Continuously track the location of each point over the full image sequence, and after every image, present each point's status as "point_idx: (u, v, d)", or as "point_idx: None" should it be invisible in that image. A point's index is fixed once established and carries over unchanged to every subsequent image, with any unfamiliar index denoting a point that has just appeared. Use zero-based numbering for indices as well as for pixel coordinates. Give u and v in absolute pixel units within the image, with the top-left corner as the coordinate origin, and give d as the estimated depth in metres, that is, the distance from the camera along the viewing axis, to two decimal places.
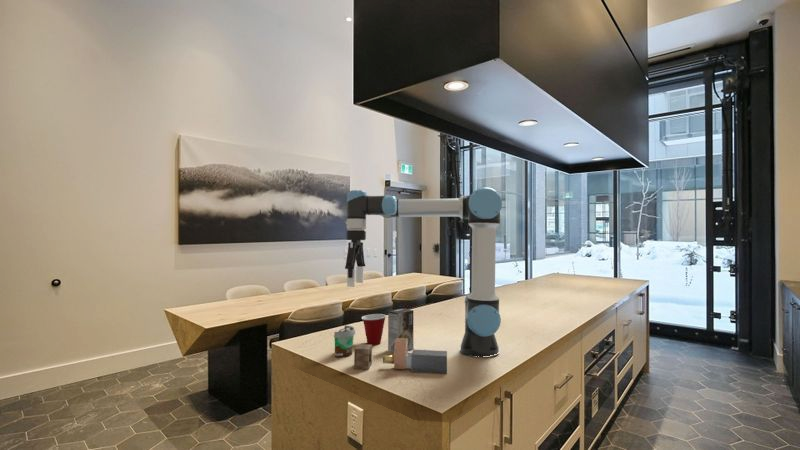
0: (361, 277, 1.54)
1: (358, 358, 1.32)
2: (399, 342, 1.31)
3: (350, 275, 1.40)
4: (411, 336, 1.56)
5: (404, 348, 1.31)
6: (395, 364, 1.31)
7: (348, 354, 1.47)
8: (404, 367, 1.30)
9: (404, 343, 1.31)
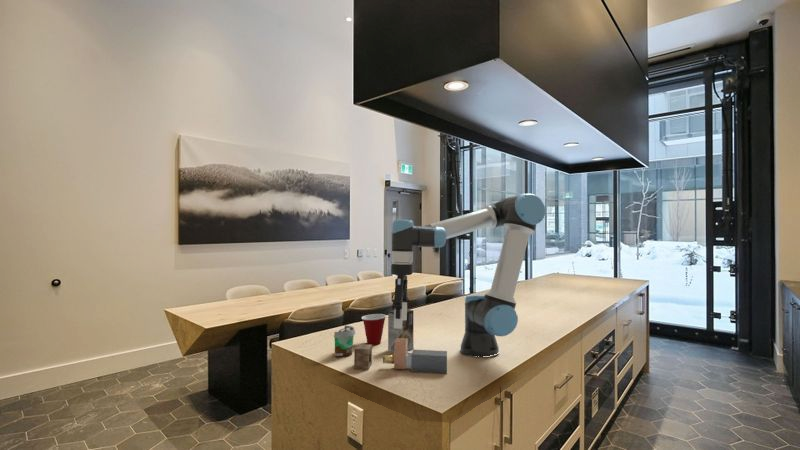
0: (405, 314, 1.40)
1: (358, 358, 1.32)
2: (399, 342, 1.31)
3: (398, 316, 1.26)
4: (411, 336, 1.56)
5: (404, 348, 1.31)
6: (395, 364, 1.31)
7: (348, 354, 1.47)
8: (404, 367, 1.30)
9: (404, 343, 1.31)
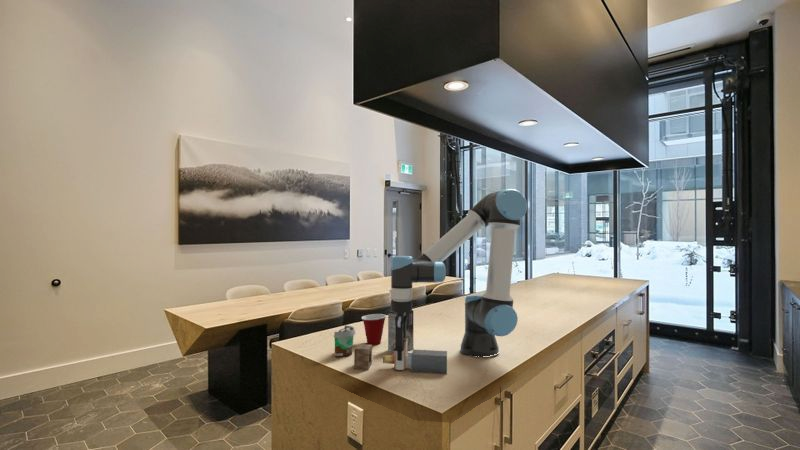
0: None
1: (358, 358, 1.32)
2: None
3: (399, 358, 1.29)
4: (411, 336, 1.56)
5: (404, 348, 1.31)
6: (395, 364, 1.31)
7: (348, 354, 1.47)
8: (404, 367, 1.30)
9: (404, 343, 1.31)
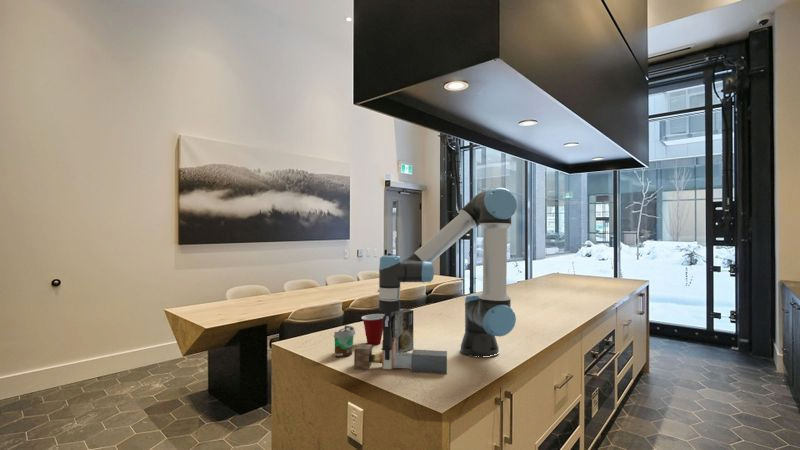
0: None
1: (358, 358, 1.32)
2: None
3: (387, 357, 1.29)
4: (411, 336, 1.56)
5: (392, 347, 1.31)
6: (383, 363, 1.31)
7: (348, 354, 1.47)
8: (392, 366, 1.31)
9: (392, 342, 1.31)
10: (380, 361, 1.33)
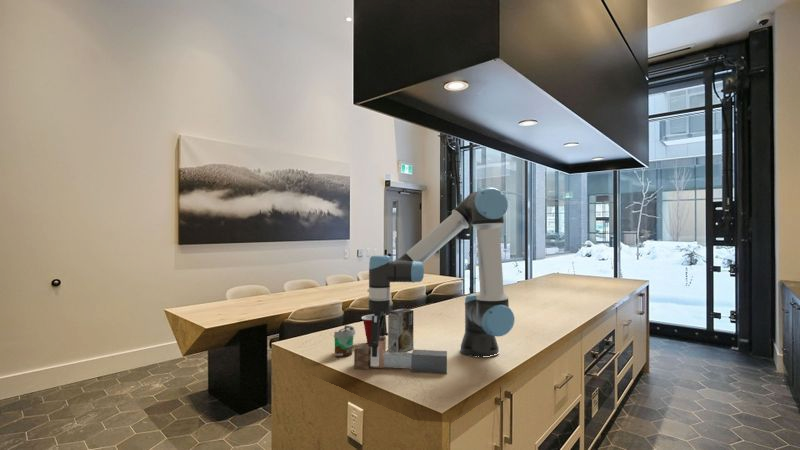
0: None
1: (358, 358, 1.32)
2: None
3: (374, 354, 1.26)
4: (411, 336, 1.56)
5: (381, 347, 1.32)
6: None
7: (348, 354, 1.47)
8: (381, 366, 1.31)
9: (381, 342, 1.32)
10: (370, 360, 1.33)
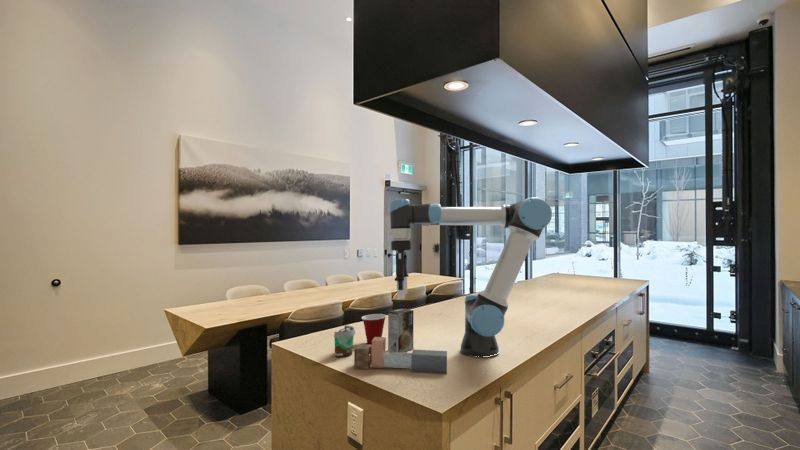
0: (405, 288, 1.50)
1: (358, 358, 1.32)
2: (376, 341, 1.32)
3: (400, 287, 1.35)
4: (411, 336, 1.56)
5: (381, 347, 1.32)
6: (372, 363, 1.32)
7: (348, 354, 1.47)
8: (381, 366, 1.31)
9: (381, 342, 1.32)
10: (370, 360, 1.33)
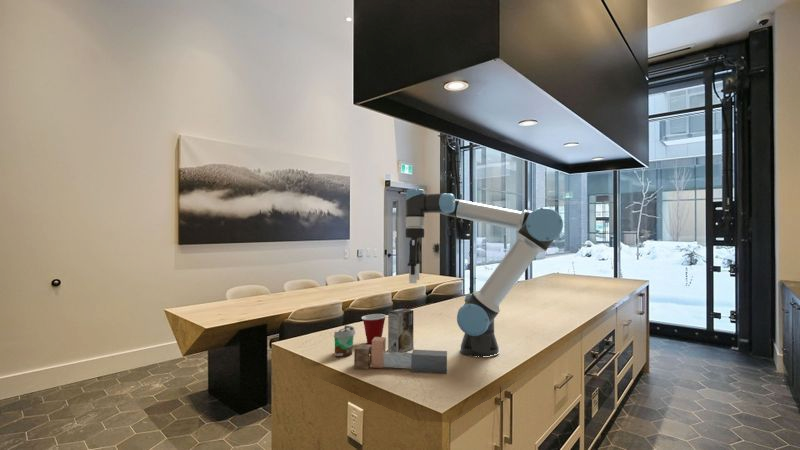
0: (418, 274, 1.57)
1: (358, 358, 1.32)
2: (376, 341, 1.32)
3: (413, 272, 1.43)
4: (411, 336, 1.56)
5: (381, 347, 1.32)
6: (372, 363, 1.32)
7: (348, 354, 1.47)
8: (381, 366, 1.31)
9: (381, 342, 1.32)
10: (370, 360, 1.33)
